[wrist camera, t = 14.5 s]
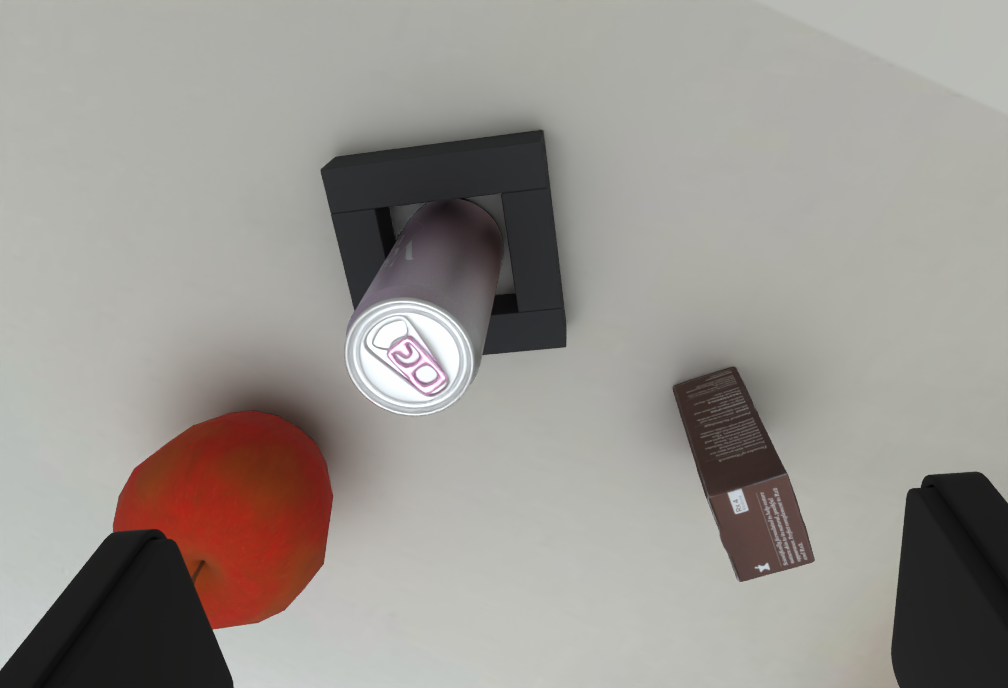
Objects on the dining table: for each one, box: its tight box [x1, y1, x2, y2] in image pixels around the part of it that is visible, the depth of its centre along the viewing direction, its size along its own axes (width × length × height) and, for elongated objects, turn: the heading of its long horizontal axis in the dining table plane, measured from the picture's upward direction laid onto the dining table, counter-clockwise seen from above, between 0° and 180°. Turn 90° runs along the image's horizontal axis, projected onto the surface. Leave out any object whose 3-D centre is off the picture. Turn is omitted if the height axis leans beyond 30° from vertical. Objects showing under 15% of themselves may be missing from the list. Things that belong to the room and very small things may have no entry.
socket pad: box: [321, 130, 566, 355], centre depth 45 cm, size 12×12×3 cm
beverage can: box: [344, 199, 504, 416], centre depth 40 cm, size 6×6×15 cm
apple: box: [113, 411, 333, 629], centre depth 48 cm, size 12×12×14 cm
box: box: [673, 367, 815, 582], centre depth 45 cm, size 6×4×12 cm
